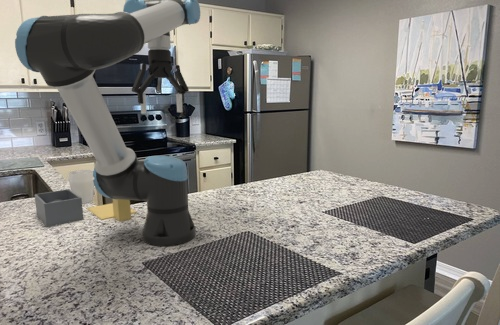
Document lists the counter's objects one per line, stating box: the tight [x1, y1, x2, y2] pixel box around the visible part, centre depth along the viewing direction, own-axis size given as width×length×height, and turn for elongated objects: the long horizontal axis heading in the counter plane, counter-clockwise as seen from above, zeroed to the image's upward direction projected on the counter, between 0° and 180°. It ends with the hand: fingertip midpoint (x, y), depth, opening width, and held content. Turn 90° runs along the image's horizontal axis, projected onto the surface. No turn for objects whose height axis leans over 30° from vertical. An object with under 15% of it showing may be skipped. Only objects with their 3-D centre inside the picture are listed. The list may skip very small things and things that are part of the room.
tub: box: [34, 188, 84, 228], centre depth 127 cm, size 15×11×8 cm
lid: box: [86, 199, 138, 222], centre depth 132 cm, size 21×12×8 cm, turn 39°
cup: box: [68, 169, 95, 205], centre depth 145 cm, size 9×9×12 cm
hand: (162, 113), depth 132 cm, fingers open, 13 cm apart
